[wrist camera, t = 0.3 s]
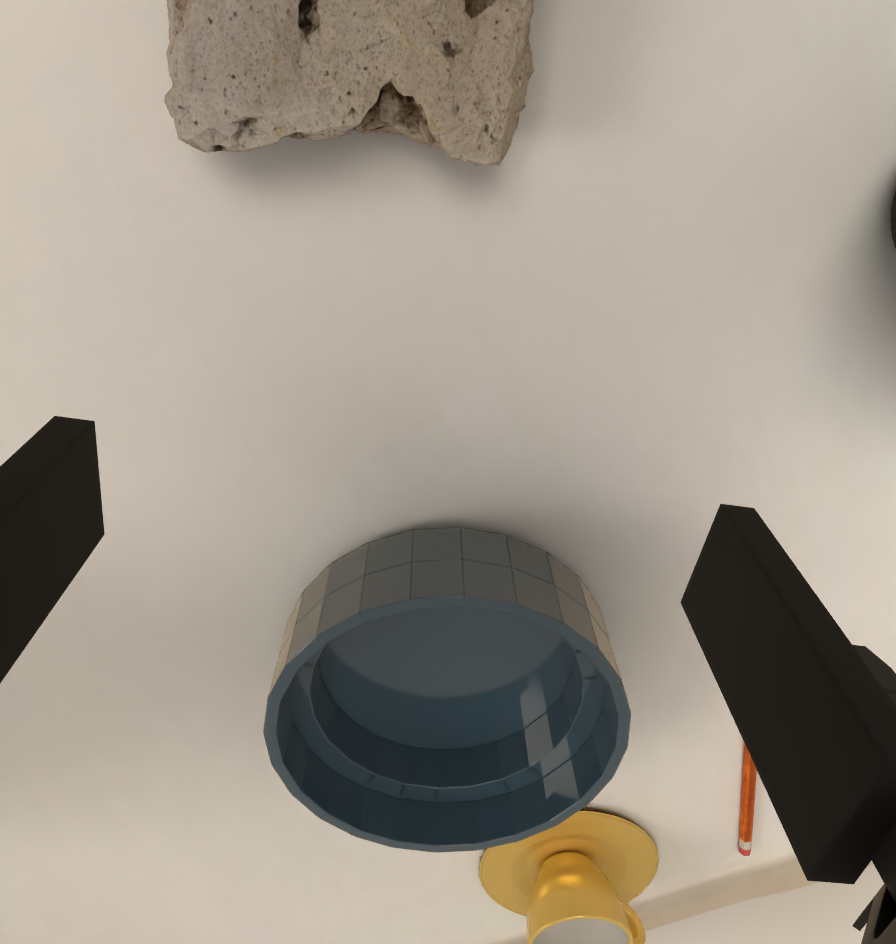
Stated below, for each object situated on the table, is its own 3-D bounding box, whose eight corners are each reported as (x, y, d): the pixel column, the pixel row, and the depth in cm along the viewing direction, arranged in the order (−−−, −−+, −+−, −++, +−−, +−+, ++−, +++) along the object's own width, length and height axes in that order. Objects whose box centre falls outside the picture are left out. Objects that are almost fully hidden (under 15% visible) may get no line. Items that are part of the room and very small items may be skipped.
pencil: (736, 846, 49) (740, 856, 48) (747, 649, 40) (752, 658, 39) (748, 845, 49) (752, 855, 48) (762, 648, 40) (767, 656, 39)
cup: (448, 888, 50) (450, 973, 45) (534, 784, 45) (546, 868, 40) (595, 929, 53) (611, 1013, 48) (692, 835, 48) (720, 919, 43)
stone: (570, 145, 27) (541, -204, 23) (582, 156, 22) (547, -292, 17) (237, 203, 29) (151, -106, 25) (176, 226, 24) (54, -159, 19)
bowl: (306, 491, 34) (283, 567, 29) (648, 549, 36) (684, 630, 31) (272, 738, 43) (250, 832, 37) (553, 774, 45) (569, 868, 39)
